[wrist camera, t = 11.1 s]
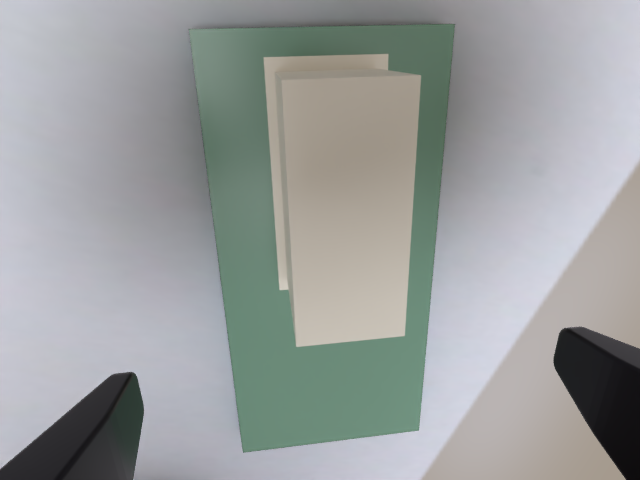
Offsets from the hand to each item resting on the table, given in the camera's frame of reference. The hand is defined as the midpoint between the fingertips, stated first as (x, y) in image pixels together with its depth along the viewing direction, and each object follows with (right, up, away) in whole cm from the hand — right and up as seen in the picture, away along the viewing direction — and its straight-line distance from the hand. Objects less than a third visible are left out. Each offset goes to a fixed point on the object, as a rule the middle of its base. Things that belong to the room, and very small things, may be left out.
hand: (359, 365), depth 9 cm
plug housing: (0, +5, +10) cm, 11 cm away
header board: (0, +1, +12) cm, 12 cm away
